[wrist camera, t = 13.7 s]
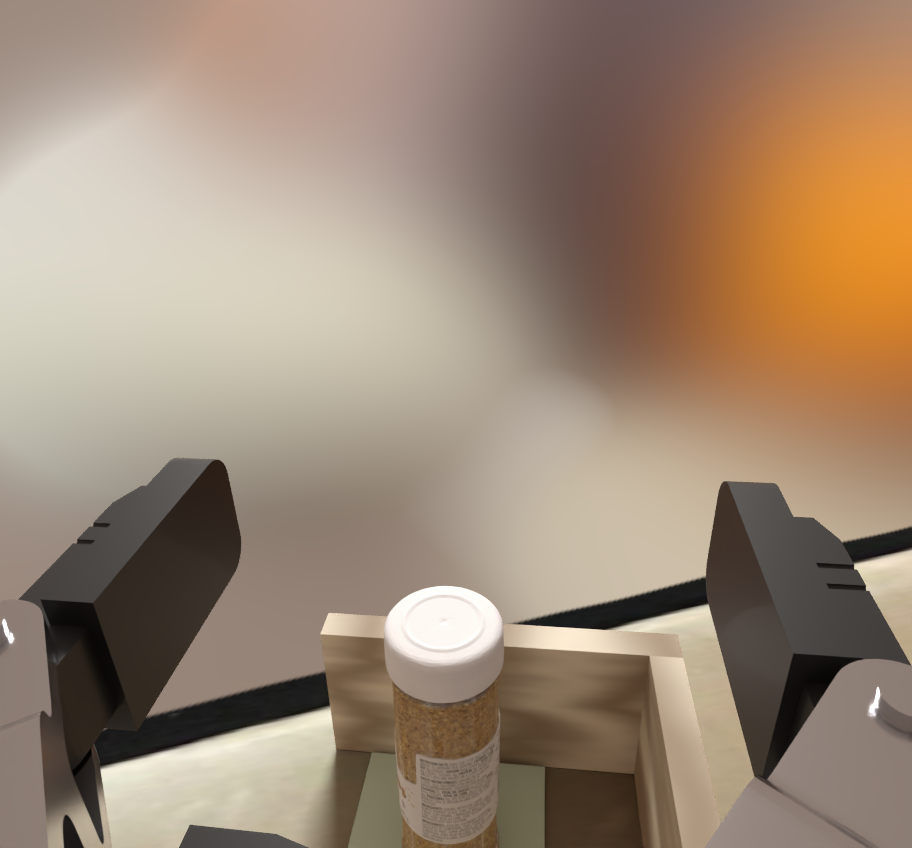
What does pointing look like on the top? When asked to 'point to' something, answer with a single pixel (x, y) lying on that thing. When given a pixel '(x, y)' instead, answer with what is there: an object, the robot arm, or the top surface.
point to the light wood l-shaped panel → (559, 712)
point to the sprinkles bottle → (446, 716)
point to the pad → (516, 814)
